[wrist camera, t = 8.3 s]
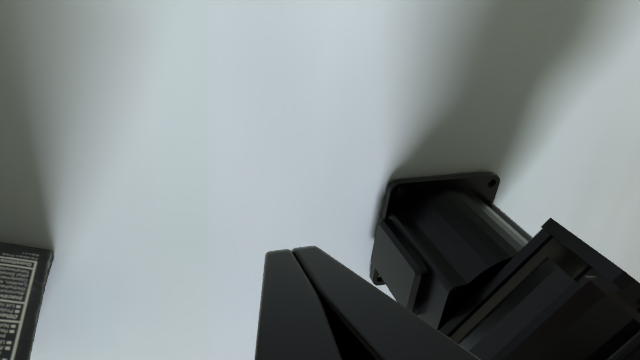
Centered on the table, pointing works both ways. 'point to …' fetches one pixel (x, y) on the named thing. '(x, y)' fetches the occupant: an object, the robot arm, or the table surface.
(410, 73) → the table surface
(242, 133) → the table surface
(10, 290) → the small box
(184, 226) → the table surface
